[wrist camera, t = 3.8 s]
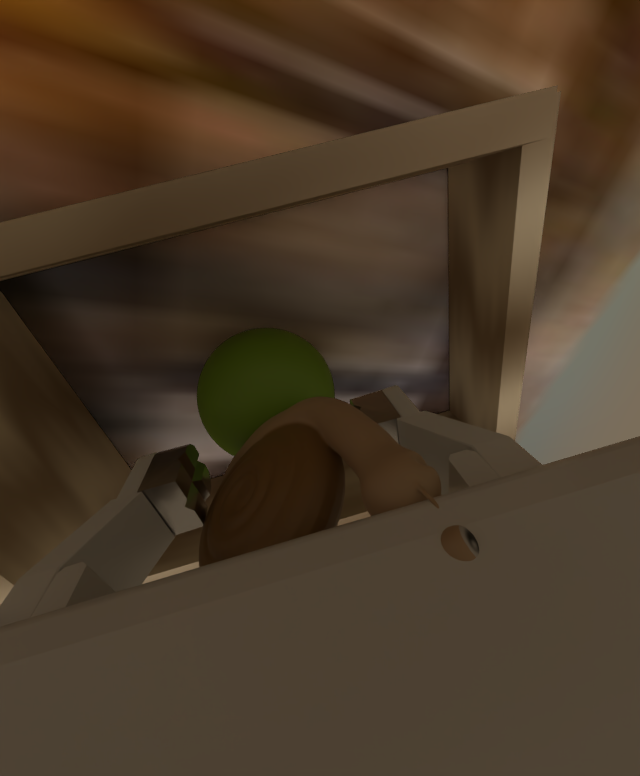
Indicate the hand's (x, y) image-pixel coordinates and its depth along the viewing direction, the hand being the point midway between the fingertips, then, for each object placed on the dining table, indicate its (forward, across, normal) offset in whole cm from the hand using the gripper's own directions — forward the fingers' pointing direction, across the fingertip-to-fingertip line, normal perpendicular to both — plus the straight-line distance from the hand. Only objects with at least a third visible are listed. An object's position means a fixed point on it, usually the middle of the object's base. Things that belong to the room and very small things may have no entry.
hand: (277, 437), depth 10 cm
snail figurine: (+6, 0, 0) cm, 6 cm away
